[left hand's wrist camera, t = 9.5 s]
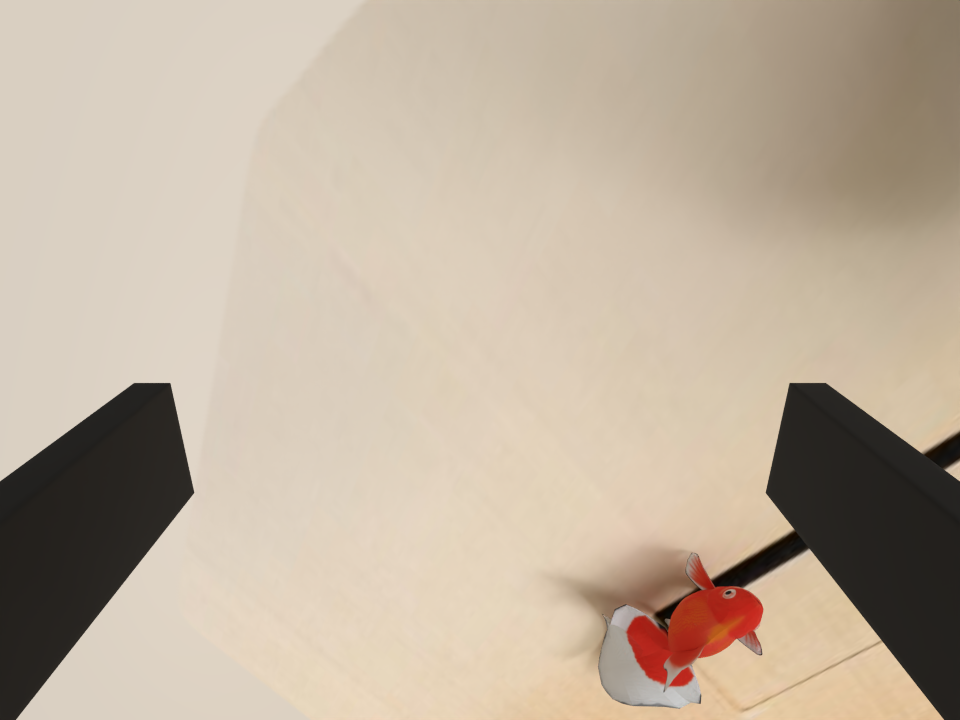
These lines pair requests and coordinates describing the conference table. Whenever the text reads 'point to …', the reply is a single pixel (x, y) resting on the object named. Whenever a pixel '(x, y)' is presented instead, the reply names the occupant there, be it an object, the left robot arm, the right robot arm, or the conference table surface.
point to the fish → (675, 643)
